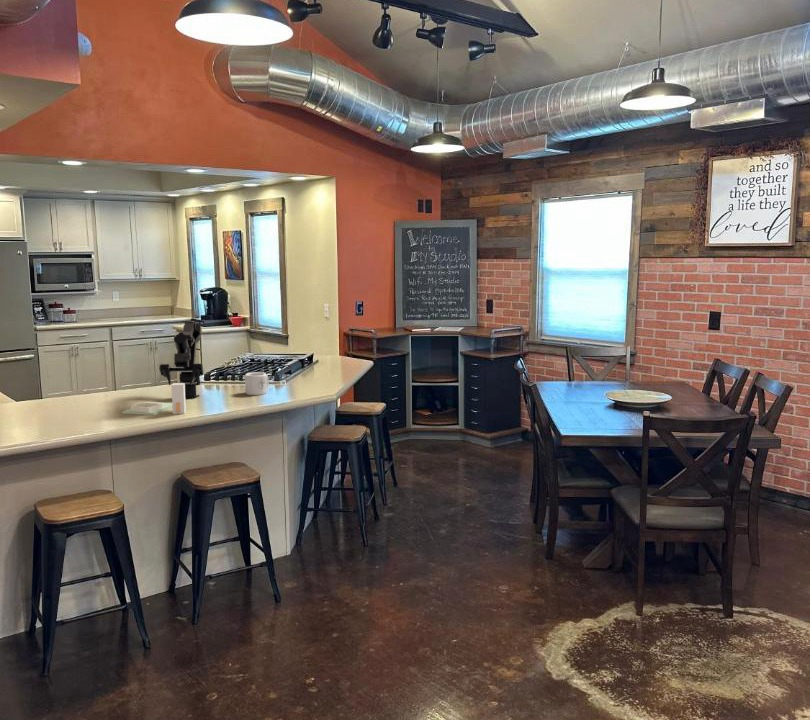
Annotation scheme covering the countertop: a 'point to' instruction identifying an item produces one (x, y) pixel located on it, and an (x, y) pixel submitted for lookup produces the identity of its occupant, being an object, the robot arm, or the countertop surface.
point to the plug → (178, 398)
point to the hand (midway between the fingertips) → (180, 384)
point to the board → (165, 406)
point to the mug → (256, 383)
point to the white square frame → (146, 407)
